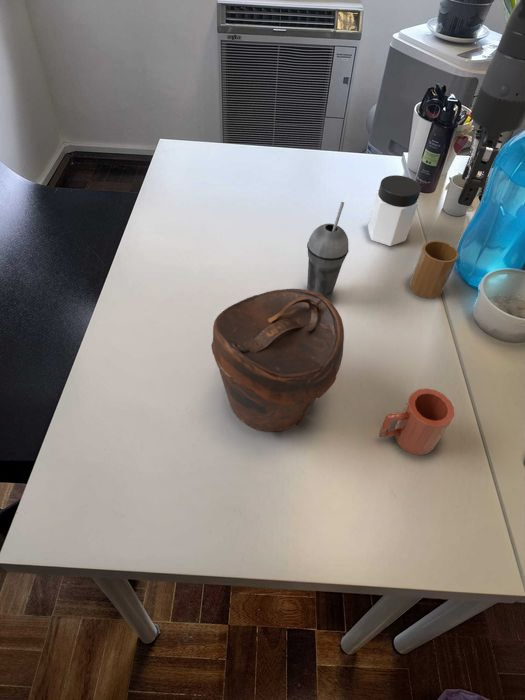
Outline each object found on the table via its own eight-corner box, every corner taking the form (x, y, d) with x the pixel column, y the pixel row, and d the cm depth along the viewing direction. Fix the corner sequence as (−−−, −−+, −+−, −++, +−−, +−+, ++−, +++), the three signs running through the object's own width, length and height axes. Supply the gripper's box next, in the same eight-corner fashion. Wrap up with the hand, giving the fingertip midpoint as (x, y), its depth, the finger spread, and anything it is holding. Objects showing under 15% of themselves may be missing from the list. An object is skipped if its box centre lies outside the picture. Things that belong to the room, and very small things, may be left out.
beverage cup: (293, 288, 91) (305, 195, 76) (326, 280, 93) (345, 188, 78) (309, 313, 87) (326, 220, 72) (344, 304, 89) (367, 212, 74)
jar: (408, 247, 102) (426, 197, 93) (371, 246, 101) (385, 196, 92) (399, 223, 108) (415, 174, 99) (364, 222, 107) (377, 173, 98)
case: (335, 359, 80) (356, 279, 66) (320, 464, 67) (343, 390, 53) (233, 340, 82) (233, 257, 68) (199, 439, 69) (192, 361, 55)
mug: (425, 416, 73) (443, 386, 67) (441, 452, 69) (462, 423, 63) (368, 423, 72) (381, 393, 66) (382, 460, 68) (396, 431, 62)
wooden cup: (434, 276, 96) (449, 239, 89) (447, 297, 92) (464, 260, 85) (404, 278, 95) (418, 241, 88) (416, 299, 91) (431, 263, 84)
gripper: (537, 112, 62) (486, 218, 74) (535, 76, 71) (490, 176, 83) (479, 101, 63) (438, 207, 76) (484, 67, 72) (447, 167, 84)
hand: (465, 191), depth 79 cm, fingers open, 8 cm apart
